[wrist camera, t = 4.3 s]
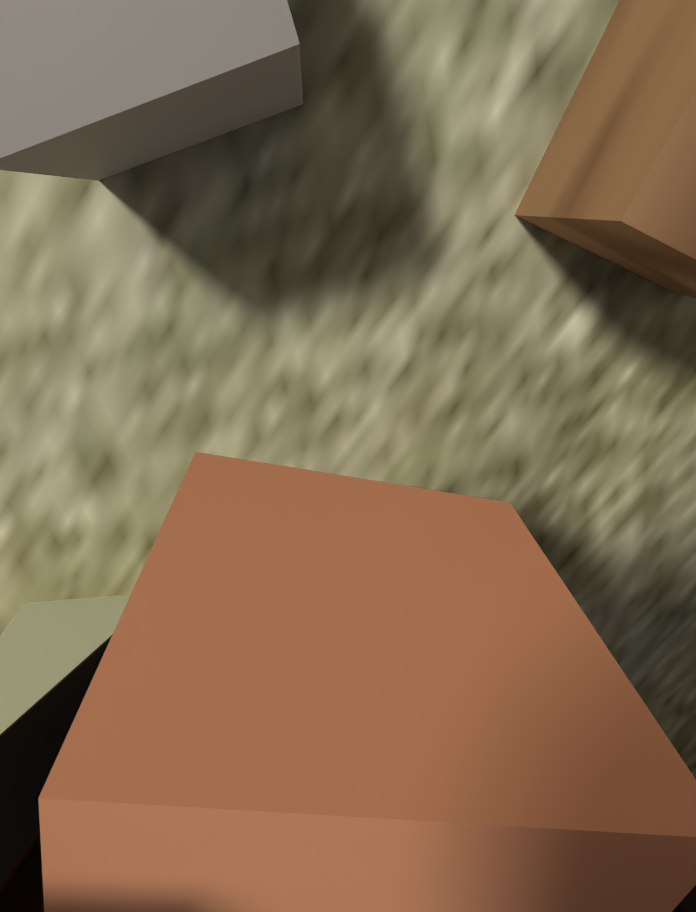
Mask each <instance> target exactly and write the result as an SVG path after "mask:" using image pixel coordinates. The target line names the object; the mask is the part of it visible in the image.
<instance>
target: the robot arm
mask: <svg viewBox="0 0 696 912" xmlns="http://www.w3.org/2000/svg"><path fill="white" fill-rule="evenodd" d="M112 635H113V634H112ZM112 635H111V636H110V637H109V638H108V639H107V640H106V641H104V642H103V643H102V644H101V645H100V646H99V647H98V648H97V649H95V650H94V651H93V652H92V653H91V654H90V655H89V656H88V657H87V658H85V659H84V660H83V661H82V662H81V663H80V664H79V665H78V666H76V667H75V668H74V669H73V670H72V671H71V672H70V673H69V674H67V675H66V676H65V677H64V678H63V679H62V680H61V681H60V682H58V683H57V684H56V685H55V686H54V687H53V688H52V689H51V690H49V691H48V692H47V693H46V694H45V695H44V696H43V697H42V698H40V699H39V700H38V701H37V702H36V703H35V704H34V705H33V706H31V707H30V708H29V709H28V710H27V711H26V712H25V713H24V714H22V715H21V716H20V717H19V718H18V719H17V720H16V721H15V722H13V723H12V724H11V725H10V726H9V727H8V728H7V729H6V730H4V731H3V732H2V733H1V734H0V912H44V897H43V878H42V859H41V840H40V821H39V802H38V798H39V796H40V793H41V791H42V789H43V787H44V785H45V782H46V780H47V778H48V776H49V774H50V771H51V769H52V767H53V765H54V763H55V760H56V758H57V756H58V754H59V752H60V749H61V747H62V745H63V743H64V741H65V738H66V736H67V734H68V732H69V730H70V727H71V725H72V723H73V721H74V719H75V716H76V714H77V712H78V710H79V708H80V705H81V703H82V701H83V699H84V696H85V694H86V692H87V690H88V688H89V685H90V683H91V681H92V679H93V677H94V674H95V672H96V670H97V668H98V666H99V663H100V661H101V659H102V657H103V655H104V652H105V650H106V648H107V646H108V644H109V641H110V639H111V637H112ZM672 912H696V885H695V886H694V887H693V888H692V890H691V891H690V892H689V893H688V894H687V895H686V896H685V897H684V899H683V900H682V901H681V902H680V903H679V904H678V905H677V906H676V908H675V909H674V910H673V911H672Z"/></svg>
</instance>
